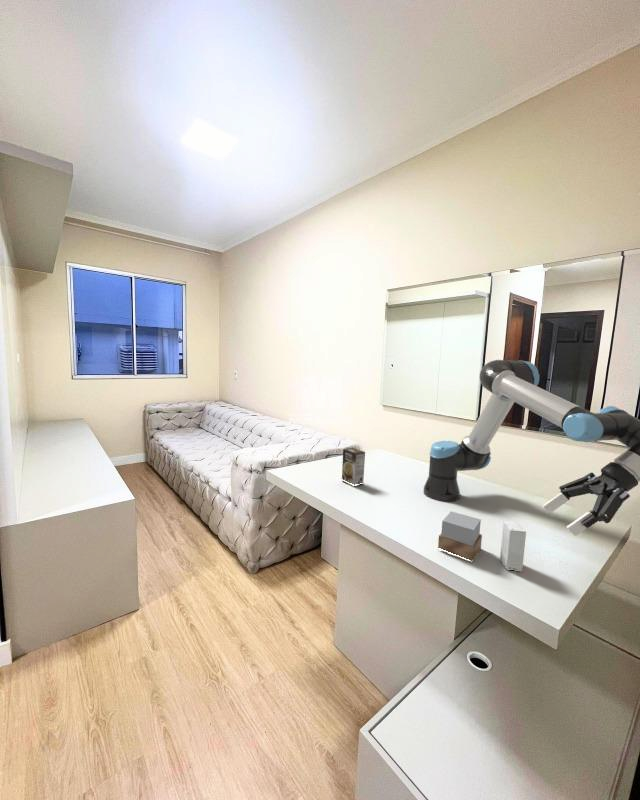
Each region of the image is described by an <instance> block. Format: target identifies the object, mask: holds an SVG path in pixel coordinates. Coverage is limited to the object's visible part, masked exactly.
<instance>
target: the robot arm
mask: <svg viewBox="0 0 640 800" xmlns="http://www.w3.org/2000/svg"><path fill="white" fill-rule="evenodd" d="M479 381H480V384H481V386H482V387H483V388H484V389H486V390H487V392H488V391H489V392H490V393H491V395H490V396H489V398H488V401H487V402H486V404H485V406H484V408H483V410H482V411H481V414H480V415H479V416H478V419H477V420H476V422H475V424H474V426H473V429H472V430H471V432H470V433H469V435H466V436H464V437H463V439H462V441H461V442H460V443H458V442H457V441H453V440H440V441H436V442H433V443H432V444H431V446H430V452H429V466H428V477H427V479H426V481H425V484H424V486H423V494H424V495H425V496H426V495H427V496H426V497H428V498H430V497H431V499H433V500H436V499H437V501H441V500H442V502H443V501H444V502H455V501H459V499H460V498H461V491H460V488H459V487H460V486H459V484H458V472H461V471H462V472H464V471H465V472H466V471H478V470H482V469H484V468H486V467H487V466H489V464H490V462H491V455H492V454H491V448H490V445H491V442H492V441H493V438H494V437H495V435H496V434H497V432H498V431H499V429H500V427H501V426H502V424H503V422H504V420H505V419H506V417H507V415H508V413H509V412H510V411H511V409H512V408H513V405H514V404H515V403H516V404H518V405H520V406H521V407H523V408H525V409H527V410H528V411H530V412H532V413H534V414H536V415H538V417H539V416H540V417H542V418H543V419H545V420H546V421H548V422H551V423H552V424H554V425H556V426H557V427H560V428H562V430H563V432H564V433H565V436H566V437H567V438H569V439H570V440H572V441H575V442H583V443H591V442H600V441H602V442H603V441H618V442H619V443H620V444H622V445H624V446H625V447H627V448H628V449H627V450H624V452H622V453H621V454H620V455H618V456H616V457H615V458H614V459H613V461H611V462H610V461H609V463H607V464H606V465H605V466H603V467H602V468H601V469H600V473H601V474H600V475H598V476H597V475H596V474H594V473H593V472H589V473H588V474H585V475H584V476H583V477H580V478H578V479H574V480H573V481H570V482H567V483H565V484H562V485H560V486H559V487H558V488H559V490H560V492H559V493H558V494H556V495H555V496H554V497H553V498H551V499H550V500H548V501H547V502H545V503H544V504H543V505H542V507H543V508H544V509H545V510H546V512H548V513H549V514H552V513H553V512H555V511H556V510H557V509H558V508H560V507H561V506H563V505H564V504H566V503H567V502H569V501H570V499H571V498H574V497H579V496H583V495H589V494H590V495H595V496H596V500H595V503H594V504H593V505H594V506H593V507H592V510H589V511H587V512H585V513H584V514H582V515H581V516H580V517H577V519H575V520H574V521H572V522H571V523H570V524H567V525H566V528H567V530H569V532H570V533H572V535H573V536H575V537H576V536H578V534H580V533H582V532H583V531H585V530H586V529H588V528H591V527H592V526H594V524H596V523H597V522H604V524H609V523H611V521H612V519H613V518H614V517H615V515H616V514H617V512H618V511H619V509H620V508H621V506H622V505H623V503H624V502H625V501H627V499H629V498H630V496H631V495H630V494H629V493H628V492H629V491H631V490H632V489H634V488H635V487H637V486H639V482H640V419H639V418H637V417H635V416H634V415H633V414H630V413H629V412H627V411H626V410H624V409H621V408H618V407H617V406H614V405H608V406H606V407H603V408H601V409H600V410H598V412H592V411H590V410H588V409H586V408H583V407H581V406H580V405H577V404H575V403H573V402H571V401H568V400H567V399H565V398H563V397H560V396H558V395H556V394H554V393H552V392H550V391H548V390H545V389H543V388H541V387H540V386H538V385H539V383H540V373H539V370H538V368H537V366H536V365H535V364H534V363H532V362H530V361H527V360H526V361H525V360H522V359H519V360H508V359H505V360H503V359H494V360H490V361H488V362H487V363H486V364H485V365H483V366H482V368H481V369H480V373H479Z"/></svg>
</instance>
